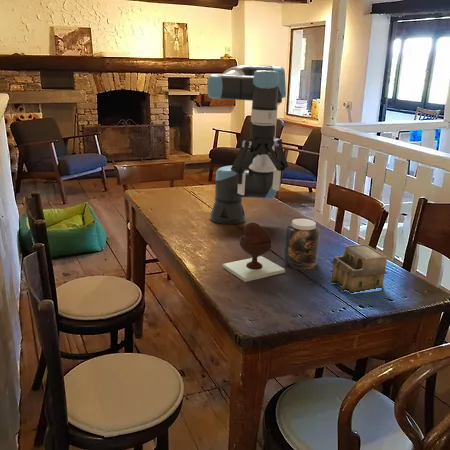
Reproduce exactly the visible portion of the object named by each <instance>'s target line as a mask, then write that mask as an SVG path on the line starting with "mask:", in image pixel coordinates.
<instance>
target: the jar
mask: <svg viewBox="0 0 450 450" xmlns="http://www.w3.org/2000/svg"><path fill="white" fill-rule="evenodd" d="M320 232H321V231H320V228H319V227H317V223H316V221H315V220H312V219H308V218H294V219H292V221H291V224H289V225H288V226H287V227H286V232H285V240H284V241H285V242H284V249H283V264H284V265H285V266H287V267H289V268H291V269H293V270H294V269H295V270H301V271H302V270H303V271H306V270H305V269H308V270H311V269H314V268H316V267H317V263H318V258H319V257H318V256H319V255H318V254H319V246H320V245H319V244H320V237H321V235H320V234H321V233H320ZM315 266H316V267H315Z"/></svg>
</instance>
